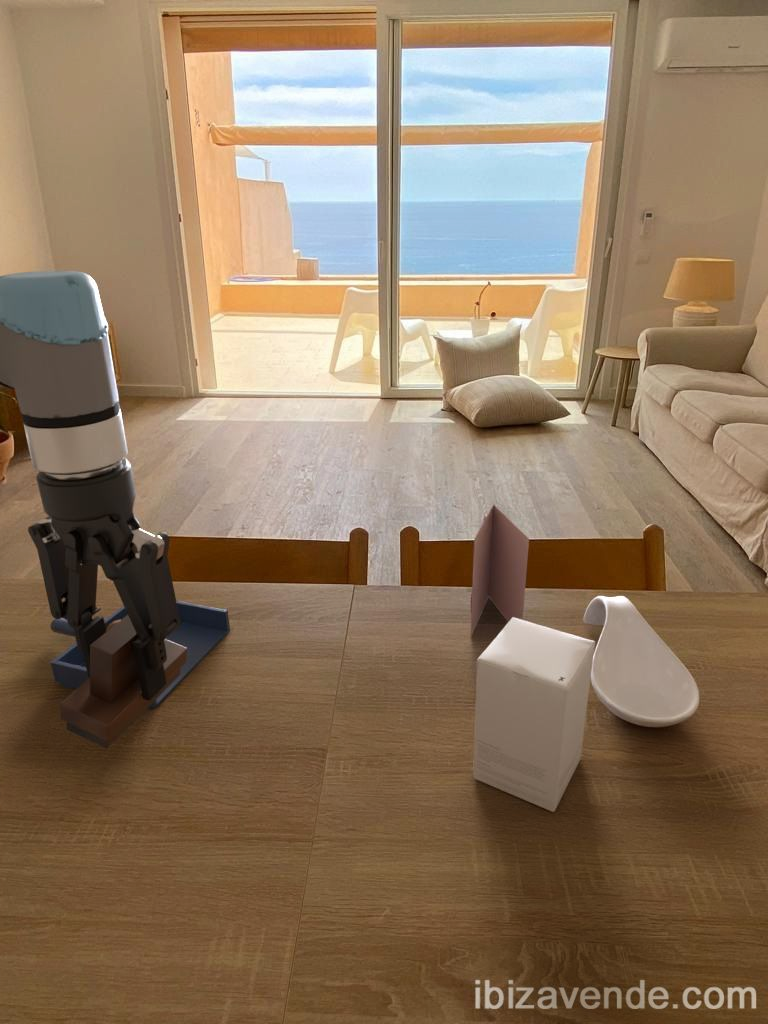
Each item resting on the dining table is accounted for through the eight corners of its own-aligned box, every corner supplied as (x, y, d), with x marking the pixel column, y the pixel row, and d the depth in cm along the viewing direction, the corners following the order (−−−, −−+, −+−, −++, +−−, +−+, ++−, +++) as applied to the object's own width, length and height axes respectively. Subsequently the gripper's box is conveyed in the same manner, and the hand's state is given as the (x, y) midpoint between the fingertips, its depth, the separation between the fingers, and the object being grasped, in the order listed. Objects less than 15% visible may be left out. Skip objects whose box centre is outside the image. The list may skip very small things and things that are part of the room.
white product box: (583, 757, 74) (599, 639, 68) (554, 815, 67) (569, 690, 61) (504, 726, 78) (512, 613, 72) (469, 778, 71) (475, 658, 65)
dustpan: (230, 630, 97) (227, 610, 95) (154, 708, 82) (150, 686, 80) (97, 603, 104) (93, 584, 102) (5, 671, 89) (-1, 650, 87)
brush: (60, 731, 65) (58, 653, 60) (143, 655, 75) (147, 584, 71) (107, 753, 64) (109, 675, 59) (185, 673, 74) (191, 602, 70)
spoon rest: (712, 744, 75) (724, 690, 72) (603, 745, 75) (611, 692, 72) (639, 622, 97) (646, 577, 94) (554, 623, 97) (559, 578, 94)
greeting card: (482, 594, 104) (487, 503, 98) (532, 603, 102) (540, 510, 96) (464, 636, 95) (467, 537, 88) (518, 646, 92) (526, 545, 86)
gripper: (201, 460, 59) (230, 680, 69) (31, 440, 65) (79, 646, 75) (146, 492, 53) (187, 730, 62) (-37, 467, 59) (25, 689, 68)
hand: (128, 684), depth 68 cm, fingers closed on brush, 5 cm apart
